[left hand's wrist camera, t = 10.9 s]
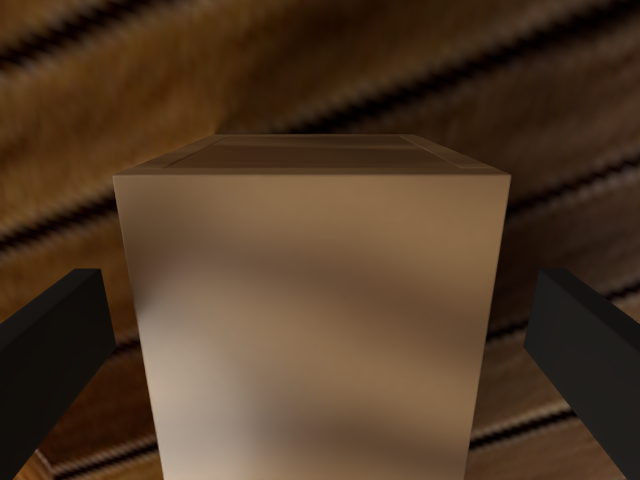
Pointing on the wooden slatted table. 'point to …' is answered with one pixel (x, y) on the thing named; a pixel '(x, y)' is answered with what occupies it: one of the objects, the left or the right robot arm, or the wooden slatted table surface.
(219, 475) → the cabinet
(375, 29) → the wooden slatted table surface
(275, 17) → the wooden slatted table surface
